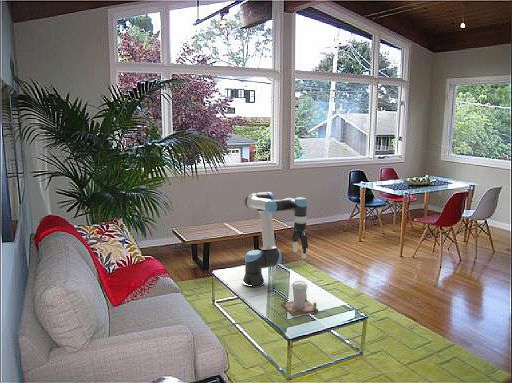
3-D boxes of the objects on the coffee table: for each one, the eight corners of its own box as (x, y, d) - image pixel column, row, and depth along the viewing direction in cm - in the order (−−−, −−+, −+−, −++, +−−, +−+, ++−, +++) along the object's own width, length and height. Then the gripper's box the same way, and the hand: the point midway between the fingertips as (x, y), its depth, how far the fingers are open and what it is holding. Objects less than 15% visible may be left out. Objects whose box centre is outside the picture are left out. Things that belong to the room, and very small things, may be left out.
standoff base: (281, 304, 267) (281, 296, 266) (306, 300, 272) (306, 293, 272) (292, 315, 251) (292, 307, 250) (318, 311, 256) (318, 303, 256)
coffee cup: (289, 307, 259) (289, 284, 257) (294, 302, 268) (294, 279, 265) (304, 310, 255) (305, 286, 253) (308, 304, 264) (309, 281, 262)
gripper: (287, 218, 276) (286, 249, 280) (302, 227, 253) (301, 261, 257) (298, 217, 279) (297, 248, 282) (314, 226, 255) (313, 260, 259)
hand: (299, 254), depth 269 cm, fingers open, 13 cm apart
